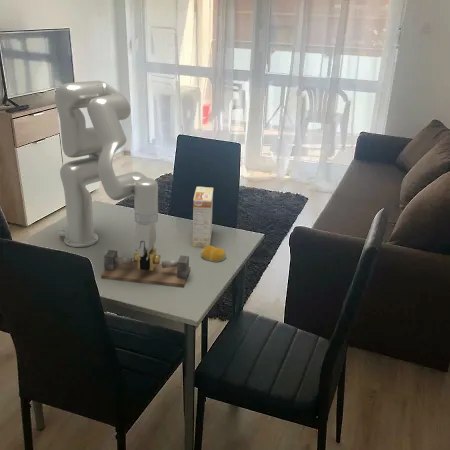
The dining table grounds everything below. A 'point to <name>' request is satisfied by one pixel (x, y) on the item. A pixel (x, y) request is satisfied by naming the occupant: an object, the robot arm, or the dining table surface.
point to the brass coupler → (152, 256)
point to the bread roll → (213, 254)
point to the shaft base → (161, 274)
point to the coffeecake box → (202, 216)
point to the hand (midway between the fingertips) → (147, 265)
